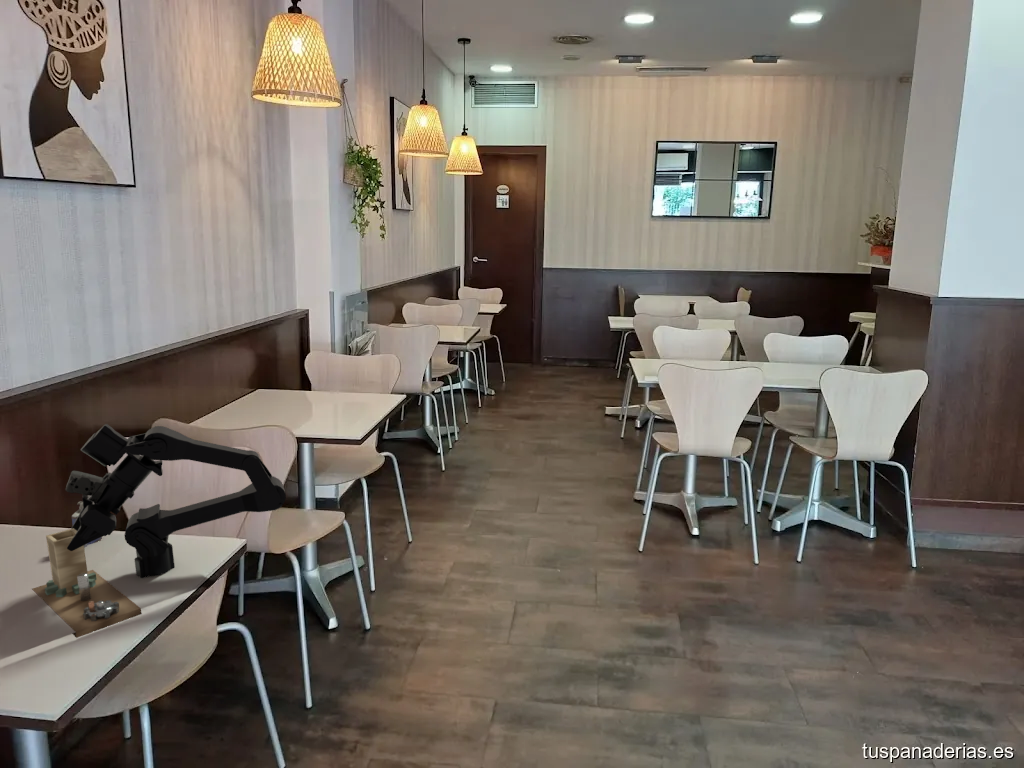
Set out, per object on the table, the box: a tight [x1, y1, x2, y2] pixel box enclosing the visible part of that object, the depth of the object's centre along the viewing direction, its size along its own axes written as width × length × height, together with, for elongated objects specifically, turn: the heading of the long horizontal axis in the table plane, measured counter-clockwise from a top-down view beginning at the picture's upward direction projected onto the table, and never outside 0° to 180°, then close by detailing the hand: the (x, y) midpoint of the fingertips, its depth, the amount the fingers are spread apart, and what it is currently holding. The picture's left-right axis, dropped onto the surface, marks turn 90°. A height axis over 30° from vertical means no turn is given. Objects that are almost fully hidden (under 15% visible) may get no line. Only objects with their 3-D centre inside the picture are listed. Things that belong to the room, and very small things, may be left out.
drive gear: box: [83, 600, 119, 621], centre depth 141 cm, size 6×6×3 cm
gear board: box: [32, 569, 142, 639], centre depth 148 cm, size 11×25×1 cm, turn 47°
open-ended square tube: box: [45, 528, 97, 597], centre depth 151 cm, size 9×9×11 cm
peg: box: [77, 573, 91, 601], centre depth 147 cm, size 2×2×5 cm
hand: (70, 541), depth 151 cm, fingers open, 9 cm apart
